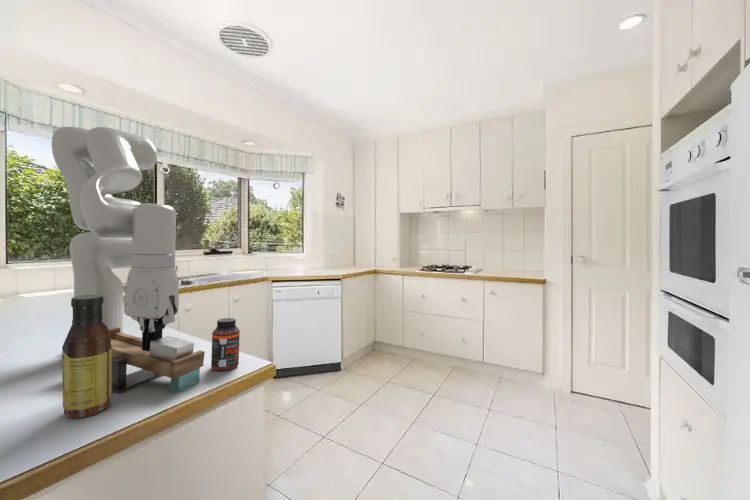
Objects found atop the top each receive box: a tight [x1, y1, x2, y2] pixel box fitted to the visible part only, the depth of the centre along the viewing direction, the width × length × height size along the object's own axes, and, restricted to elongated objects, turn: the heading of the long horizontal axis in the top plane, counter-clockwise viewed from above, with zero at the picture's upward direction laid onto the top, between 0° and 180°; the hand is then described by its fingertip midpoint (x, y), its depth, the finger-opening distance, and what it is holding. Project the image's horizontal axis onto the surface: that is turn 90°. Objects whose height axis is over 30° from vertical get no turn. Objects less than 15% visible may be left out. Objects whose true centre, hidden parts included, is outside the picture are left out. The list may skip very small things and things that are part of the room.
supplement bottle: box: [210, 317, 241, 372], centre depth 74 cm, size 6×6×11 cm
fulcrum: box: [112, 357, 201, 394], centre depth 67 cm, size 26×13×6 cm, turn 74°
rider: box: [149, 335, 195, 363], centre depth 65 cm, size 7×4×4 cm, turn 74°
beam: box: [109, 327, 206, 379], centre depth 67 cm, size 26×8×6 cm, turn 74°
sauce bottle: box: [61, 295, 113, 419], centre depth 53 cm, size 6×6×20 cm
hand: (152, 348), depth 66 cm, fingers closed
